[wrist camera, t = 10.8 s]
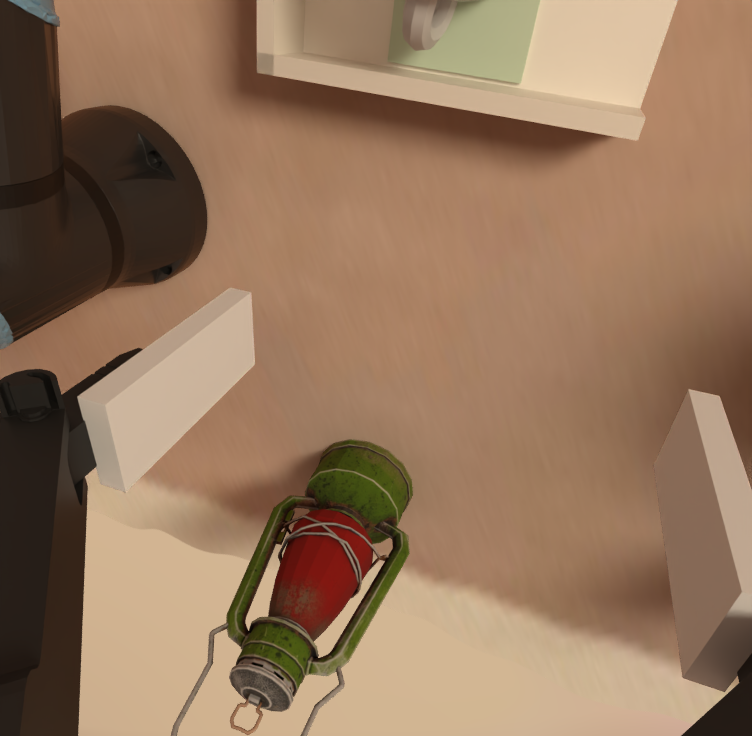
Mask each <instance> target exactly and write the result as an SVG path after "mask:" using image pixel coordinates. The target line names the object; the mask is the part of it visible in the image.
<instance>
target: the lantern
mask: <svg viewBox="0 0 752 736" xmlns="http://www.w3.org/2000/svg"><path fill="white" fill-rule="evenodd" d="M412 496H413V489H412V479H411V477H410V475H409V474H408V472H407V470H406V468H405V466H404V465H403V463H402V462H400V461H399V460H398V459H397V458H396V457H395V456H394V455H393V454H391V453H390V452H389V451H388V450H386V449H384V448H382V447H379V446H377V445H375V444H373V443H371V442H367V441H359V440H352V439H350V440H345V441H341V442H337V443H334V444H332V445H331V446H330V447H329V448H328V449H327V450H325V451H324V452H323V454H322V457H321V460H320V463H319V466H318V467H317V469H316V470H315V472H314V474H313V475H312V477H311V478H310V480H309V482H308V485H307V488H306V491H305V497H304V496H289V497H287V498H286V499H285V500H283V501H282V502H281V503H280V504H278V505H277V506H276V507H274V509H273V511H272V513H271V516H270V518H269V520H268V522H267V525H266V527H265V529H264V531H263V534H262V536H261V538H260V541H259V543H258V545H257V547H256V550H255V552H254V554H253V556H252V559H251V561H250V563H249V565H248V568H247V570H246V572H245V575H244V577H243V579H242V581H241V584H240V586H239V588H238V591H237V593H236V595H235V598H234V600H233V602H232V604H231V606H230V609H229V611H228V613H227V622H226V624H224V625H222V626H220V627H218V628H216V629H214V630H212V631H211V632H210V635H209V648H208V663H207V665H206V667H205V668H204V670H203V672H202V674H201V676H200V678H199V679H198V681H197V683H196V685H195V687H194V689H193V690H192V693H191V694H190V696H189V698H188V700H187V701H186V703H185V705H184V707H183V709H182V711H181V712H180V714H179V716H178V718H177V720H176V722H175V723H174V725H173V729H172V733H171V736H177V732H178V728H179V725H180V723H181V721H182V719H183V718H184V716H185V714H186V712H187V710H188V708H189V707H190V705H191V703H192V701H193V699H194V697H195V696H196V694H197V692H198V690H199V688H200V686H201V684H202V682H203V681H204V679H205V677H206V675H207V673H208V671H209V669H210V668H211V666H212V664H213V648H214V635H215V634H217V633H218V632H221V631H223V630H225V629H227V632H228V637H229V638H231V639H232V640H233V641H234V642H236V643H237V644H238V645H239V646H240V647H241V649H242V652H241V654H240V656H239V657H238V659H237V662H236V666H234V667H233V668H232V670H231V672H230V676H229V679H230V681H231V684H232V686H233V687H234V688H235V689H236V691H237V692H238V693H239V694H240V695H241V696H242V697H243V698H244V699H246V702H245V704H243V703H240V704H238V705H237V707H236V709H235V710H234V712H233V714H232V716H231V718H230V723H231V728H233V729H236V730H239V731H241V732H243V733H245V734H247V735H249V734H251V733H253V732H254V731H255V730H256V729H257V728H258V725H259V723H260V721H261V718H262V716H263V714H262V711H260V710H259V709H260V708H263V709H267V710H271V711H281V712H282V711H285V710H287V709H289V708H290V706H291V703H292V701H293V697H294V696H295V694H296V692H297V690H298V688H299V685H300V684H301V683H302V682H303V680H304V677H305V675H309V674H312V675H321V676H329V675H330V674H332V673H334V672H337V676H338V680H339V685H338V686H337V687H336V688H335V689H334V690H332V691H331V692H330V693H329V694H327V695H326V696H325V697H324V698H323V699H322V700H320V701H319V702H318V703H317V704H316V705H315V706H314V709H313V711H312V713H311V715H310V717H309V719H308V721H307V723H306V726H305V728H304V730H303V732H302V734H301V736H307V734H308V732H309V729H310V727H311V725H312V723H313V721H314V719H315V716H316V714H317V712H318V710H319V709H320V708H321V707H322V706H323V705H324V704H325V703H327V702H328V701H329V700H330V699H331V698H332V697H334V696H335V695H336V694H337V693H338V692H340V690H342V689H343V688H344V680H343V675H342V671H341V668H342V667H343V666H344V665H345V664H347V663H348V662H349V660H350V658H351V656H352V655H353V653H354V651H355V649H356V648H357V646H358V644H359V642H360V641H361V639H362V637H363V635H364V634H365V632H366V630H367V628H368V626H369V624H370V622H371V621H372V619H373V617H374V616H375V614H376V612H377V610H378V609H379V607H380V605H381V603H382V602H383V600H384V598H385V596H386V594H387V593H388V591H389V589H390V587H391V586H392V584H393V582H394V580H395V578H396V577H397V575H398V573H399V571H400V570H401V568H402V566H403V564H404V562H405V561H406V559H407V557H408V555H409V554H410V553H409V538H408V535H407V534H406V533H404V532H403V531H401V530H400V529H398V528H397V526H398V524H399V521H400V518H401V516H402V513H403V512H404V511H405V509H406V508H407V506H408V504H409V502H410V500H411V498H412ZM295 508H305V509H309V510H310V512H309V513H308V514H306V515H304V516H301V517H298V518H296V519H293V520H292V518H293V515H294V513H295V512H294V510H293V509H295ZM298 520H299V521H298ZM295 521H298V522H297V523H296V524H295V525H294V527H293V530H292V532H291V531H290V530H289V525H290V524H291V523H293V522H295ZM285 523H286V524H285ZM283 528H285V529H284V532H281V531H282V529H283ZM287 531H288V533H289V534H290V535H289V536H287V537H286V539H285V541H284V543H283V546H282V548H281V550H280V552H279V554H278V558H279V561H280V563H281V564H280V567H279V570H278V573H277V576H276V579H275V584H274V589H273V594H272V597H271V601H270V608H269V615H268V617H259V618H257V619H256V620H254V621H252V623H251V626H250V629H249V631H248V629H247V627H246V624H245V620H246V616H247V613H248V611H249V608H250V606H251V603H252V601H253V599H254V596H255V594H256V591H257V589H258V587H259V584H260V582H261V579H262V577H263V574H264V572H265V569H266V567H267V565H268V562H269V560H270V557H271V555H272V553H273V550H274V548H275V545H276V544H280V545H282V542H283V540H284V537H285V535H286V532H287ZM389 537H390V538H391V539H392V541H393V549H392V551H391V552H390V554H389V556H387V555H383V556H380V555H379V554H378V552H377V551H376V549H375V548H374V546H373V545H372V544H376V543H381V542H383V541H384V540H386V539H388V538H389ZM287 542H288V543H287ZM286 544H287V546H286ZM285 546H286V549H285V552H284V555H283V558H282V552H283V550H284V548H285ZM373 551H374V552H375V554H376V555H377V557H378V558H377V559H376V560H375V561H374V562H373V563H372V560H373ZM379 560H383V561H385V562H384V564H383V566H382V567H381V569H380V571H379V572H378V574H377V576H376V577H375V579H374V581H373V582H372V584H371V586H370V588H369V589H368V591H367V593H366V594H365V596H364V598H363V599H362V601H361V603H360V604H359V606H358V608H357V609H356V611H355V613H354V614H353V616H352V618H351V619H350V621H349V623H348V624H347V626H346V628H345V629H344V631H343V633H342V634H341V636H340V638H339V639H338V641H337V643H336V644H335V646H334V648H333V650H332V651H331V652H330V653H329V654H328V655H326V656H323V657H321V658H318V656H319V655H318V651H317V646H316V645H315V644H314V641H315V640H316V639H317V638H318V637H319V636H320V635H321V634H322V633H323V632H324V631H325V630H326V629H327V628H328V626H329V625H330V624H331V623H332V621H334V619H335V618H336V617H337V616H338V615H339V614H340V612H341V611H342V610H343V608H344V607H345V605H346V604H347V602H348V601H349V600H350V598H353V597H354V596H355V595H356V594H357V593H358V592H359V590H360V587H361V584H362V580H363V579H364V577H365V575H366V574H367V572H368V571H369V570H370V569H371V568H372V567H373V566H374V565H375V564H376V563H377V562H378V561H379ZM248 703H250V704H253V705H254V706H256V707H257V708H256V712H257V713H258V714H259V715H260V716H259V718H258V720H257V722H256V724H255V726H254V727H253V729H251V730H249V731H247V730H245V729H243V728H241V727H238V726H235V725H234V721H233V720H234V717H235V715H236V713H237V711H238V709H239V708H240V707H246V706H247V705H248Z"/></svg>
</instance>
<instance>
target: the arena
mask: <svg viewBox="0 0 752 736" xmlns="http://www.w3.org/2000/svg"><path fill="white" fill-rule="evenodd" d="M677 1H678V0H540V5H539V9H538V13H537V17H536V22H535V26H534V30H533V34H532V39H531V43H530V47H529V51H528V56H527V60H526V64H525V68H524V73H523V77H522V81H521V84H520V83H514V82H508V81H502V80H496V79H490V78H484V77H478V76H472V75H466V74H460V73H454V72H448V71H442V70H436V69H430V68H423V67H417V66H411V65H405V64H399V63H393V62H387V61H388V52H389V44H390V35H391V26H392V17H393V8H394V0H257V73H261V74H267V75H273V76H278V77H284V78H289V79H295V80H301V81H306V82H312V83H317V84H323V85H329V86H334V87H340V88H345V89H351V90H357V91H362V92H368V93H373V94H379V95H385V96H390V97H396V98H401V99H407V100H413V101H418V102H424V103H429V104H435V105H441V106H446V107H452V108H457V109H463V110H469V111H474V112H480V113H485V114H491V115H497V116H502V117H508V118H513V119H519V120H525V121H530V122H536V123H541V124H547V125H553V126H558V127H564V128H569V129H575V130H581V131H586V132H592V133H597V134H603V135H609V136H614V137H620V138H625V139H631V140H637V141H638V138H639V136H640V133H641V130H642V127H643V124H644V122H645V119H646V117H645V116H644V114H643V112H642V111H641V109H640V107H641V104H642V101H643V98H644V96H645V93H646V90H647V87H648V84H649V81H650V78H651V76H652V73H653V70H654V67H655V64H656V61H657V58H658V55H659V53H660V50H661V47H662V44H663V41H664V38H665V35H666V33H667V30H668V27H669V24H670V21H671V18H672V15H673V12H674V10H675V7H676V4H677Z"/></svg>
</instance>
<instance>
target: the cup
mask: <svg viewBox="0 0 752 736" xmlns="http://www.w3.org/2000/svg"><path fill="white" fill-rule="evenodd" d="M458 1H478V0H405V4H404V9H403V24H402V32H403V37H404V40H405V41H406V42H407V43H408V44H409V45H410V46H411V47H412V48H413V49H414V50H415V51H419V50H430V49H431V48H432V47H433V46H435V44H436V43H437V42H438V41H439V39H440V38H441V37H442V35H443V34H444V33H445V31H446V29H447V27H448V25H449V24H450V21H451V19H452V16H453V14H454V11H455V9H456V6H457V3H458Z"/></svg>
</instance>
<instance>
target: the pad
mask: <svg viewBox="0 0 752 736" xmlns="http://www.w3.org/2000/svg"><path fill="white" fill-rule="evenodd" d="M404 4H405V0H394V8H393V17H392V26H391V35H390V44H389V52H388V61H387V62H393V63H399V64H405V65H411V66H417V67H423V68H430V69H436V70H442V71H448V72H454V73H460V74H466V75H472V76H478V77H484V78H490V79H496V80H502V81H508V82H514V83H520V84H521V81H522V77H523V73H524V68H525V64H526V60H527V56H528V51H529V47H530V43H531V39H532V34H533V30H534V26H535V22H536V17H537V13H538V9H539V5H540V0H478V1H458V3H457V6H456V9H455V11H454V14H453V16H452V19H451V21H450V24H449V25H448V27H447V29H446V31H445V33H444V34H443V35H442V37H441V38H440V39H439V41H438V42H437V43H436V44H435V46H433V47H432V48H431V49H430V50H419V51H415V50H414V49H413V48H412V47H411V46H410V45H409V44H408V43H407V42H406V41H405V40H404V37H403V32H402V24H403V9H404Z"/></svg>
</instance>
